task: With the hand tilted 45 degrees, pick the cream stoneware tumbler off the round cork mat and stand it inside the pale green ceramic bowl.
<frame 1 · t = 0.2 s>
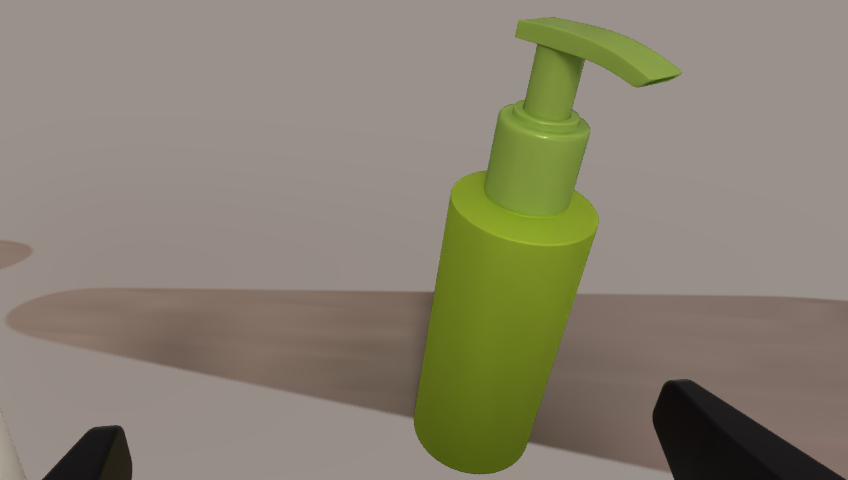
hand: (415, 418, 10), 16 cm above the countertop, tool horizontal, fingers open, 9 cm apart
soap dispenser: (477, 434, 31), on the countertop
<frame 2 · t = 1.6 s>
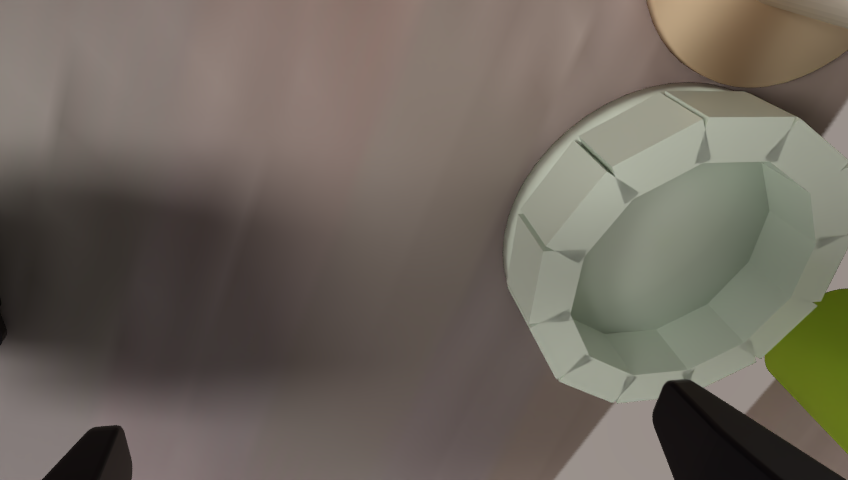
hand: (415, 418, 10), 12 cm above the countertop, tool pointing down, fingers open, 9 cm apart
bowl: (645, 229, 24), on the countertop
soap dispenser: (806, 338, 30), on the countertop
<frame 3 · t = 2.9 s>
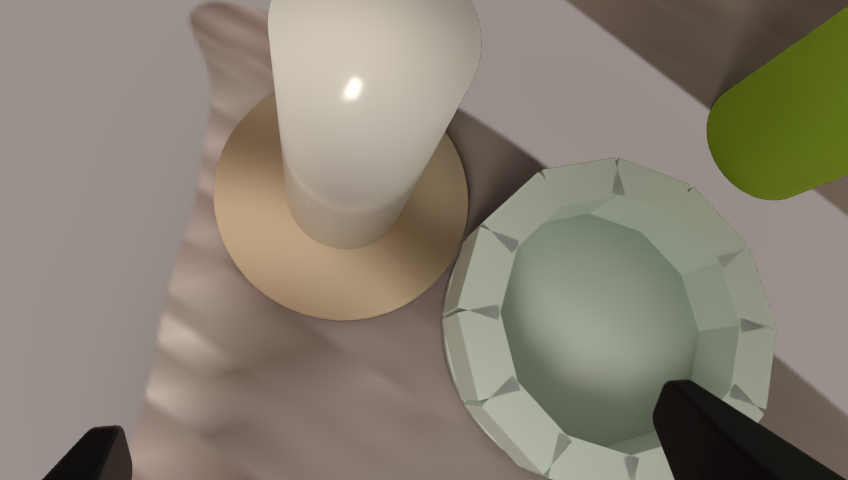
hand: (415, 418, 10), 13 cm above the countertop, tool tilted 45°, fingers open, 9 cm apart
bowl: (582, 327, 25), on the countertop
cork mat: (344, 197, 25), on the countertop
soap dispenser: (762, 153, 29), on the countertop
tumbler: (345, 192, 24), point 1 cm above the countertop, touching cork mat
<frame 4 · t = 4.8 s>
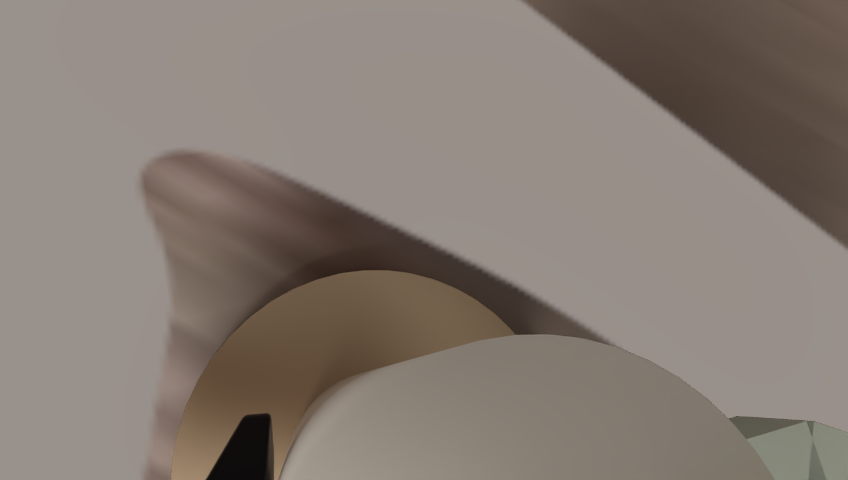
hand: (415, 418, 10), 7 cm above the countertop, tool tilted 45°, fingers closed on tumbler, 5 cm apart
cork mat: (376, 460, 16), on the countertop
tumbler: (379, 463, 15), point 1 cm above the countertop, touching cork mat, gripper
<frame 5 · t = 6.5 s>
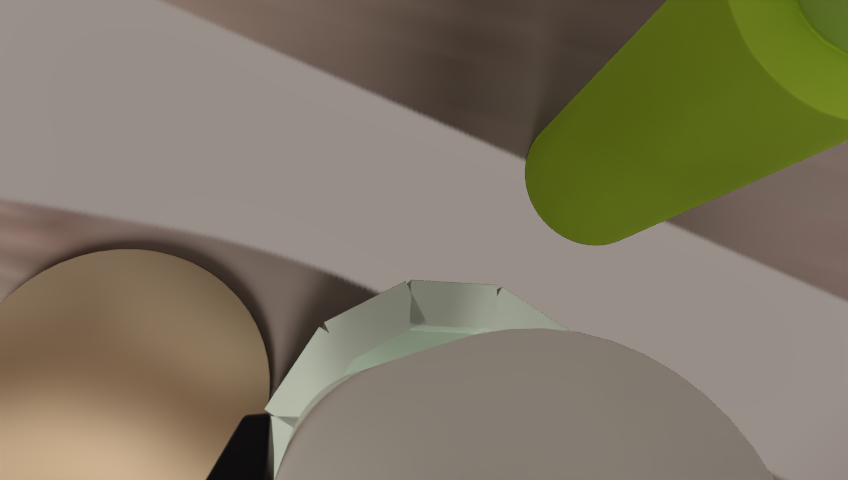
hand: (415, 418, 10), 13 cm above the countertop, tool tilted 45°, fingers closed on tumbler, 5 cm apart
bowl: (429, 455, 23), on the countertop
cork mat: (123, 392, 21), on the countertop
soap dispenser: (592, 191, 27), on the countertop
tumbler: (377, 461, 15), point 7 cm above the countertop, touching gripper
when the fingers open (9 cm above the countertop, at t = 8.1 s): tumbler drops 2 cm, resting on bowl.
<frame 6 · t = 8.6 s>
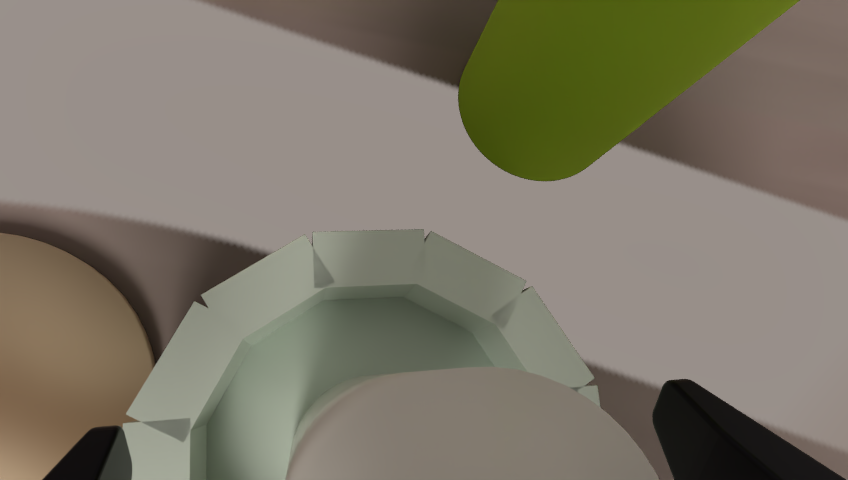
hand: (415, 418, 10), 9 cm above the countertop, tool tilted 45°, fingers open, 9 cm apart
bowl: (368, 451, 18), on the countertop
soap dispenser: (541, 119, 22), on the countertop
tumbler: (371, 457, 17), point 1 cm above the countertop, touching bowl
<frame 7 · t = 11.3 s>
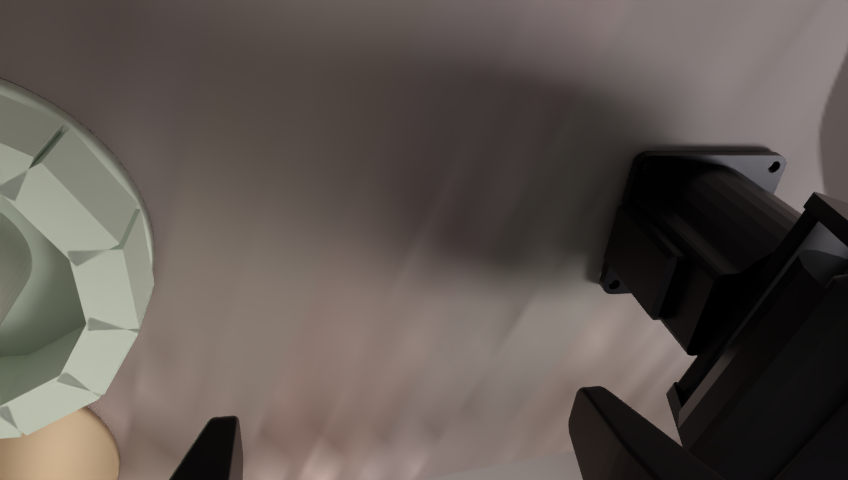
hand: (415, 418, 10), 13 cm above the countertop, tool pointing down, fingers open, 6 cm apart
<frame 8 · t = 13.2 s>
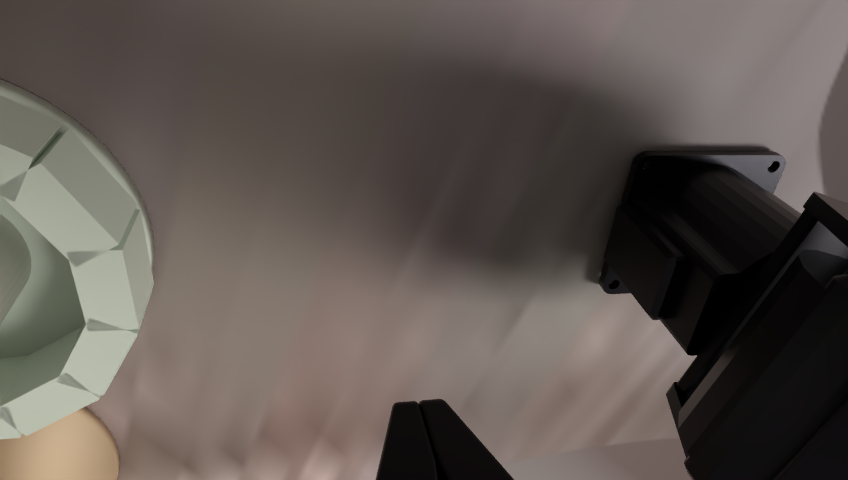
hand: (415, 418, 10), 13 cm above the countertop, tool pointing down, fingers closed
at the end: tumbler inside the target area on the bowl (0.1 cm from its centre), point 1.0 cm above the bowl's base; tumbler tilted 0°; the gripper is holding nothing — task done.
